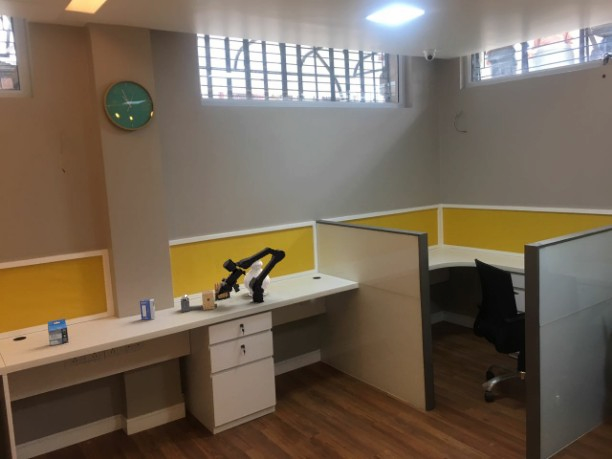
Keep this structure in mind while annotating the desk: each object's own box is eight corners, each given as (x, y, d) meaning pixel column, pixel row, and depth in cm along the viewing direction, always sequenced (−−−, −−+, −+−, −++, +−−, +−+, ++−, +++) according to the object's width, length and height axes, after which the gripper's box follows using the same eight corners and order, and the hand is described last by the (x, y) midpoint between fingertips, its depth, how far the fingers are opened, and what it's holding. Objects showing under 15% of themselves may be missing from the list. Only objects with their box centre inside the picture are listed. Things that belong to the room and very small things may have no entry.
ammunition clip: (215, 300, 354) (214, 283, 352) (214, 300, 355) (213, 282, 354) (230, 297, 360) (229, 280, 358) (229, 297, 361) (227, 279, 360)
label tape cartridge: (50, 346, 279) (47, 323, 277) (49, 344, 282) (46, 321, 281) (68, 342, 284) (66, 320, 282) (67, 340, 287) (65, 318, 285)
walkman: (141, 320, 318) (139, 300, 316) (142, 318, 321) (141, 299, 319) (154, 319, 318) (152, 299, 317) (155, 318, 321) (154, 298, 319)
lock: (214, 305, 342) (212, 290, 340) (214, 308, 334) (213, 293, 332) (202, 306, 340) (201, 291, 339) (203, 310, 332) (202, 294, 331)
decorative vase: (265, 297, 355) (263, 260, 351) (240, 297, 359) (238, 260, 356) (274, 291, 372) (271, 255, 368) (250, 290, 376) (247, 255, 373)
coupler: (216, 305, 341) (215, 290, 340) (217, 308, 335) (216, 292, 333) (181, 309, 337) (180, 293, 335) (181, 312, 330) (180, 296, 329)
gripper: (245, 287, 331) (228, 306, 330) (242, 281, 349) (226, 299, 348) (232, 276, 328) (215, 295, 327) (229, 270, 346) (213, 288, 345)
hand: (218, 295), depth 337 cm, fingers closed
